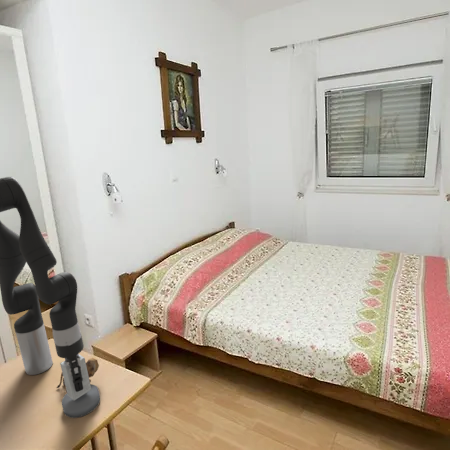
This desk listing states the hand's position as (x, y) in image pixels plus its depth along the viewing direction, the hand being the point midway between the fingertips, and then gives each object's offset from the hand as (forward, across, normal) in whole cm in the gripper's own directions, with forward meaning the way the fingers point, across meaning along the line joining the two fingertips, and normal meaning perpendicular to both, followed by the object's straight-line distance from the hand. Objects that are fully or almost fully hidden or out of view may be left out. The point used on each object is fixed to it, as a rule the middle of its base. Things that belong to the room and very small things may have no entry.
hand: (77, 384), depth 109 cm
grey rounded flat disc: (+7, 0, 0) cm, 7 cm away
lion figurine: (+8, -10, +2) cm, 13 cm away
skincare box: (+3, 0, 0) cm, 3 cm away
